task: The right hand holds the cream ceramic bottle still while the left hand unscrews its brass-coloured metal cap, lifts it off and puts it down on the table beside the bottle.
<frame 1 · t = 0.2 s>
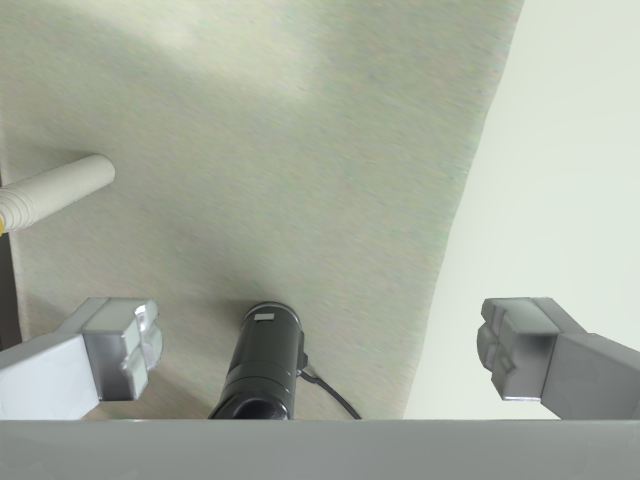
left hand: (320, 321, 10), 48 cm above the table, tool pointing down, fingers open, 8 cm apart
bottle: (99, 170, 57), on the table
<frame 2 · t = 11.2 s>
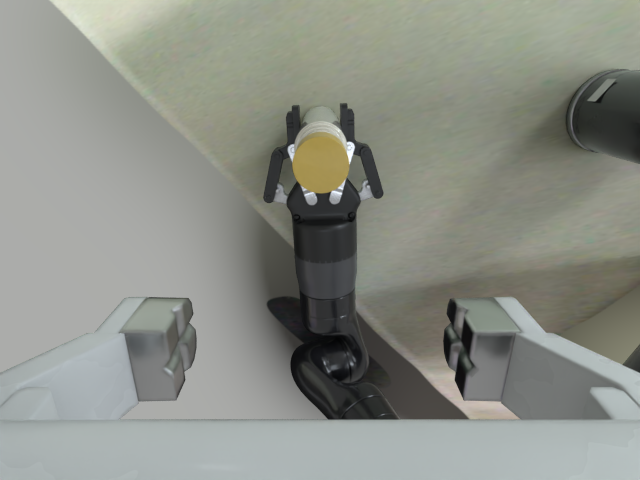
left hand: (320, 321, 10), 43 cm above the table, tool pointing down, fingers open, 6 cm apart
right hand: (319, 105, 44), fingers closed on bottle, 4 cm apart
cap: (320, 164, 28), point 24 cm above the table, screwed on, not yet turned
bottle: (320, 125, 50), on the table, touching right hand
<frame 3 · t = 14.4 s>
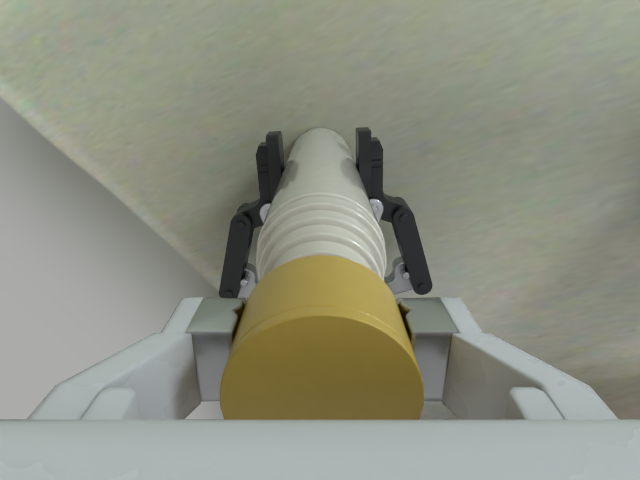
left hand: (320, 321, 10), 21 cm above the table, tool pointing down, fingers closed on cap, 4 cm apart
cap: (321, 391, 8), point 24 cm above the table, screwed on, not yet turned, touching left hand
bottle: (320, 159, 30), on the table, touching right hand
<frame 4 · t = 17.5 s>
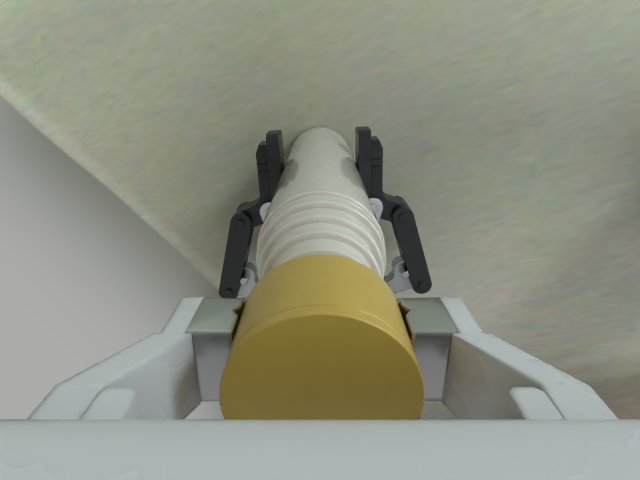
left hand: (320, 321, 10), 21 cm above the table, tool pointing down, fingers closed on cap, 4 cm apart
cap: (321, 390, 8), point 24 cm above the table, turned 79° so far, risen 0.1 cm, still on its thread, touching left hand
bottle: (320, 158, 30), on the table, touching right hand
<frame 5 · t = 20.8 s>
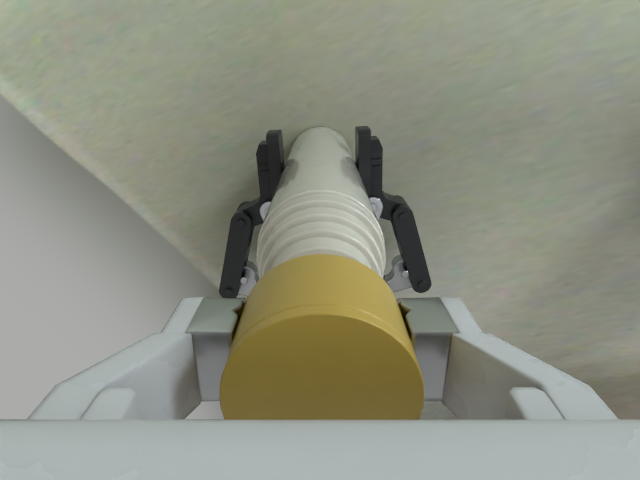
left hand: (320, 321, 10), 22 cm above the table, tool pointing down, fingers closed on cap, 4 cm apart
cap: (321, 390, 8), point 24 cm above the table, turned 159° so far, risen 0.2 cm, still on its thread, touching left hand
bottle: (320, 157, 30), on the table, touching right hand
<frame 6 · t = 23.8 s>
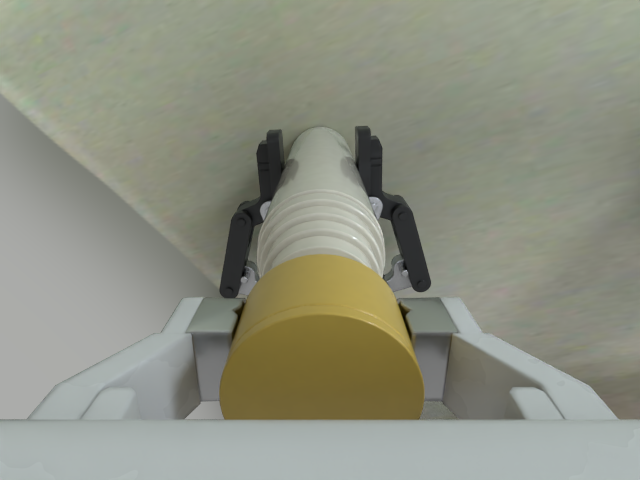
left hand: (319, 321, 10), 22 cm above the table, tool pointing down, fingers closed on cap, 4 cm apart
cap: (321, 390, 8), point 24 cm above the table, turned 238° so far, risen 0.3 cm, still on its thread, touching left hand
bottle: (320, 157, 30), on the table, touching right hand
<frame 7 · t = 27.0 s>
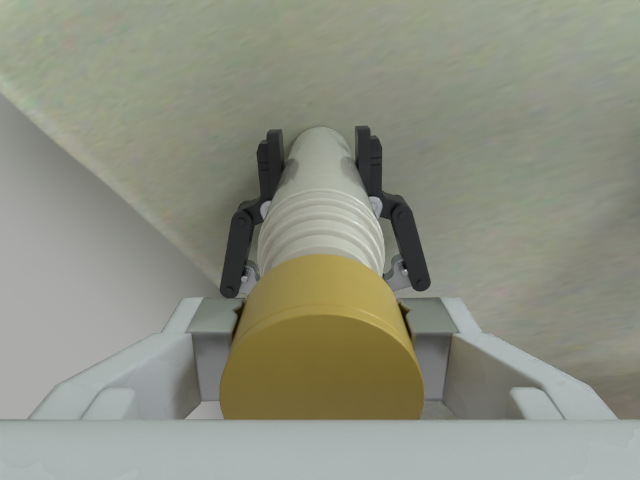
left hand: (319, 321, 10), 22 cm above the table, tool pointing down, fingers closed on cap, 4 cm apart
cap: (321, 390, 8), point 24 cm above the table, turned 317° so far, risen 0.3 cm, still on its thread, touching left hand
bottle: (320, 157, 30), on the table, touching right hand
when the left hand's fingers open (2 cm above the table, at t = 35.4 s): cap drops 2 cm, point 2 cm above the table.
when the right hand's fingers open (6 cm above the table, at t = 36.5 s): bottle stays where it is, on the table.
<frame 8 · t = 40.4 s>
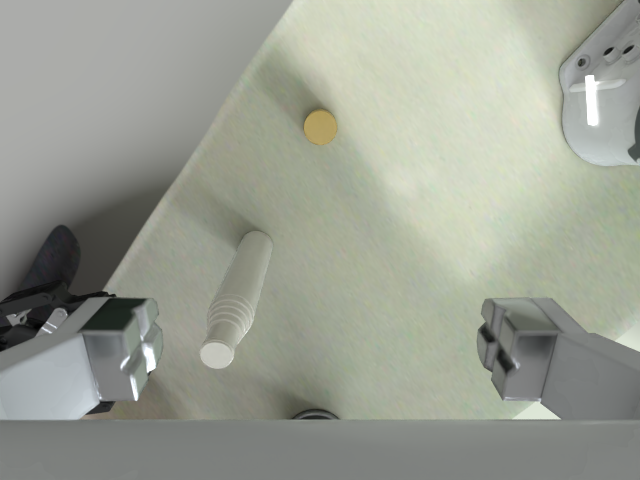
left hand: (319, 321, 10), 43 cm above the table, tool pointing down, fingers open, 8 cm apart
right hand: (131, 338, 40), fingers open, 8 cm apart
cap: (320, 127, 48), point 2 cm above the table, off its thread
bottle: (256, 245, 56), on the table
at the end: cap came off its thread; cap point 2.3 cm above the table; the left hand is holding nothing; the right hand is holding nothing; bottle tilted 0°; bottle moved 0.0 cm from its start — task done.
